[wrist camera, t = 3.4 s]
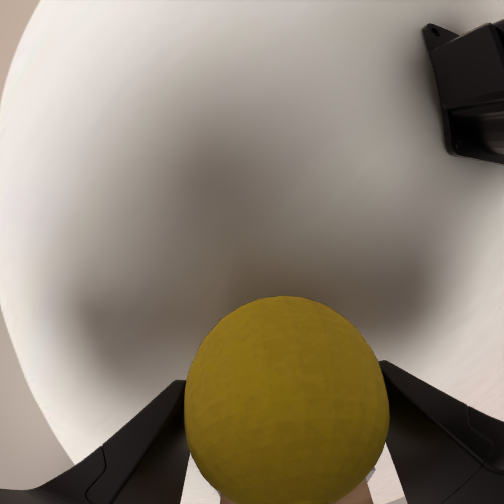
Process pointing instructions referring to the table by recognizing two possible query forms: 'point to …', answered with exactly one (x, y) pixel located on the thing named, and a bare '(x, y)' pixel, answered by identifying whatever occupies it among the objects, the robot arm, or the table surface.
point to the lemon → (285, 404)
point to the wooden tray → (357, 500)
